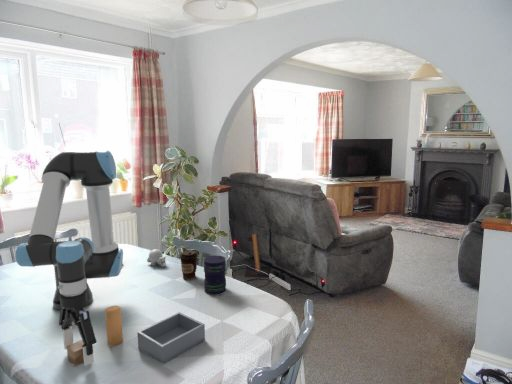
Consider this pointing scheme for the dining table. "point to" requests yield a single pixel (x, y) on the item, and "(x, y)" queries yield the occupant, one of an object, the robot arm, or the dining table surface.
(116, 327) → the tan dome-topped cylinder
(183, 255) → the coffee cup
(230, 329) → the dining table surface
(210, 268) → the storage jar
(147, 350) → the tote
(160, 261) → the toy rhinoceros
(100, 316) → the dining table surface
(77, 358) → the walnut cube
